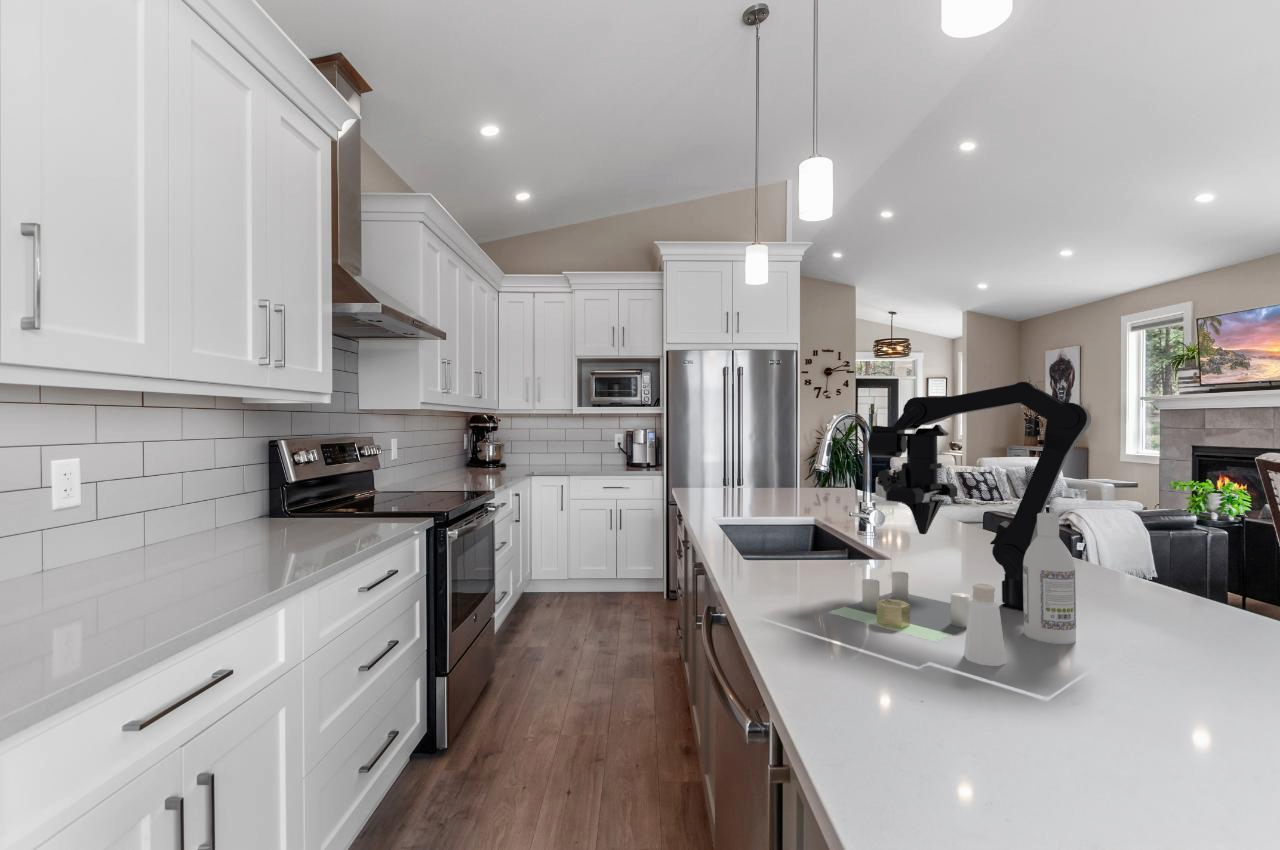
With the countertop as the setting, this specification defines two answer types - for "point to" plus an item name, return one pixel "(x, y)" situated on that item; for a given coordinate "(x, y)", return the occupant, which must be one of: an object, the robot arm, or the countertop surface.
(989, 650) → the pepper shaker
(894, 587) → the cylinder
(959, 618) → the cylinder
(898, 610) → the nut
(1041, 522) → the bath foam
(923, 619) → the mat
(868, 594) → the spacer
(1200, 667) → the countertop surface
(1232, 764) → the countertop surface
